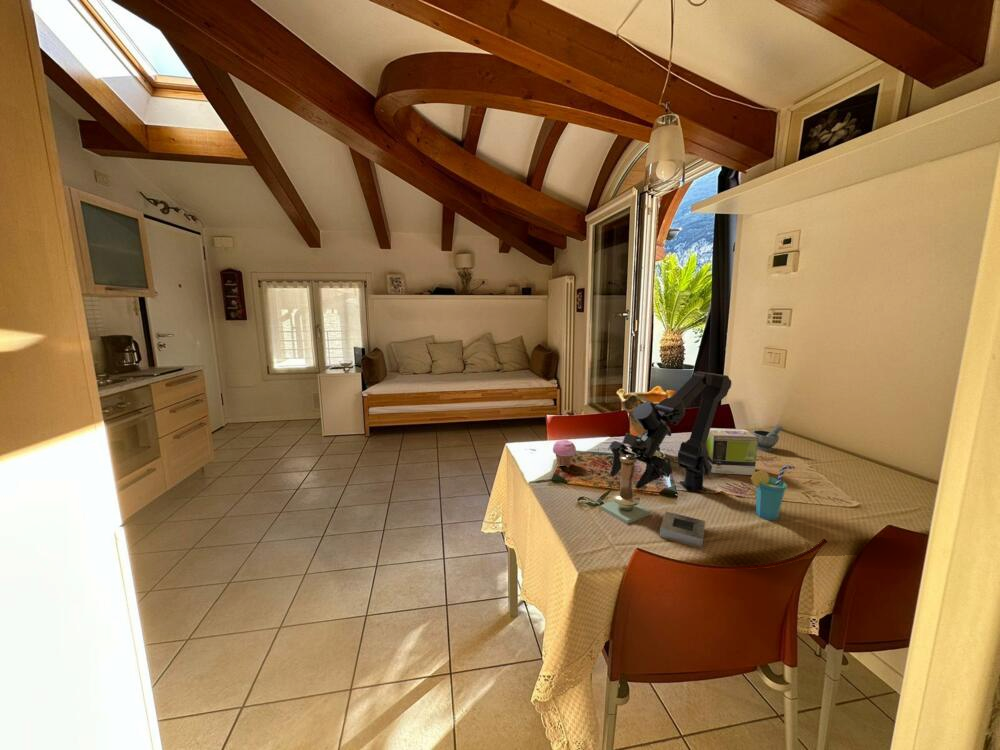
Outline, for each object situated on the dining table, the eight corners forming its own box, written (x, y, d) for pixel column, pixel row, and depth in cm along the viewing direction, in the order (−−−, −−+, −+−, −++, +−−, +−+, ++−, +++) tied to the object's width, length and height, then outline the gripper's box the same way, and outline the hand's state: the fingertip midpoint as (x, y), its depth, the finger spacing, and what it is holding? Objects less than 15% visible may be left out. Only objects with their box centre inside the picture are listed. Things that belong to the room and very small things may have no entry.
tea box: (742, 465, 155) (746, 428, 152) (754, 476, 145) (759, 437, 142) (700, 463, 157) (704, 426, 154) (710, 473, 147) (714, 434, 144)
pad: (623, 501, 125) (623, 497, 125) (650, 515, 117) (650, 511, 116) (600, 510, 120) (600, 505, 120) (626, 525, 111) (627, 520, 111)
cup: (774, 506, 123) (781, 459, 121) (800, 518, 116) (807, 469, 113) (739, 512, 119) (744, 464, 117) (762, 525, 112) (769, 475, 110)
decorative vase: (602, 446, 172) (609, 382, 168) (645, 443, 181) (653, 382, 176) (634, 464, 153) (643, 393, 149) (681, 460, 162) (690, 392, 157)
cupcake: (575, 471, 148) (576, 445, 146) (551, 469, 149) (552, 443, 148) (575, 461, 157) (576, 437, 155) (552, 460, 158) (553, 435, 156)
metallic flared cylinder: (615, 499, 123) (617, 451, 121) (641, 505, 120) (644, 455, 117) (609, 510, 117) (611, 459, 114) (636, 517, 113) (639, 464, 110)
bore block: (664, 521, 114) (665, 511, 113) (704, 531, 109) (705, 520, 109) (659, 538, 105) (660, 527, 105) (701, 550, 101) (702, 539, 100)
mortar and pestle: (745, 447, 175) (748, 420, 173) (758, 443, 179) (761, 417, 177) (772, 455, 165) (776, 427, 163) (785, 452, 170) (789, 424, 168)
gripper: (615, 415, 124) (587, 456, 120) (668, 431, 108) (638, 479, 104) (630, 435, 129) (604, 475, 125) (684, 454, 113) (655, 500, 110)
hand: (623, 481), depth 116 cm, fingers open, 9 cm apart
